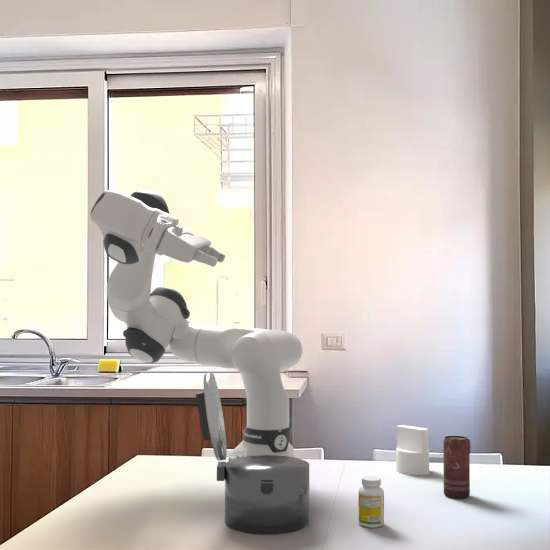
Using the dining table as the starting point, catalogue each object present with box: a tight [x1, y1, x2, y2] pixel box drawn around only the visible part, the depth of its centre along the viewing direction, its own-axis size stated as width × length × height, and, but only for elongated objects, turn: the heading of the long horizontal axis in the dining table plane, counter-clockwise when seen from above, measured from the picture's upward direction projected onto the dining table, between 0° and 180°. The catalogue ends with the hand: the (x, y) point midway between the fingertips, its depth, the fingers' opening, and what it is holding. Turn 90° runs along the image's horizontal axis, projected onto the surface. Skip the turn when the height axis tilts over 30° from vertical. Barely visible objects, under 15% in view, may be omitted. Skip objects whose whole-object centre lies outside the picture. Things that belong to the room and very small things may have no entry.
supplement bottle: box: [357, 475, 385, 529], centre depth 149 cm, size 5×5×10 cm
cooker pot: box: [216, 455, 310, 535], centre depth 152 cm, size 20×23×12 cm
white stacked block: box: [395, 424, 430, 476], centre depth 196 cm, size 9×9×12 cm
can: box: [442, 435, 472, 500], centre depth 171 cm, size 6×6×14 cm
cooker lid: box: [195, 372, 228, 462], centre depth 152 cm, size 19×19×4 cm
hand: (220, 261), depth 153 cm, fingers open, 8 cm apart
